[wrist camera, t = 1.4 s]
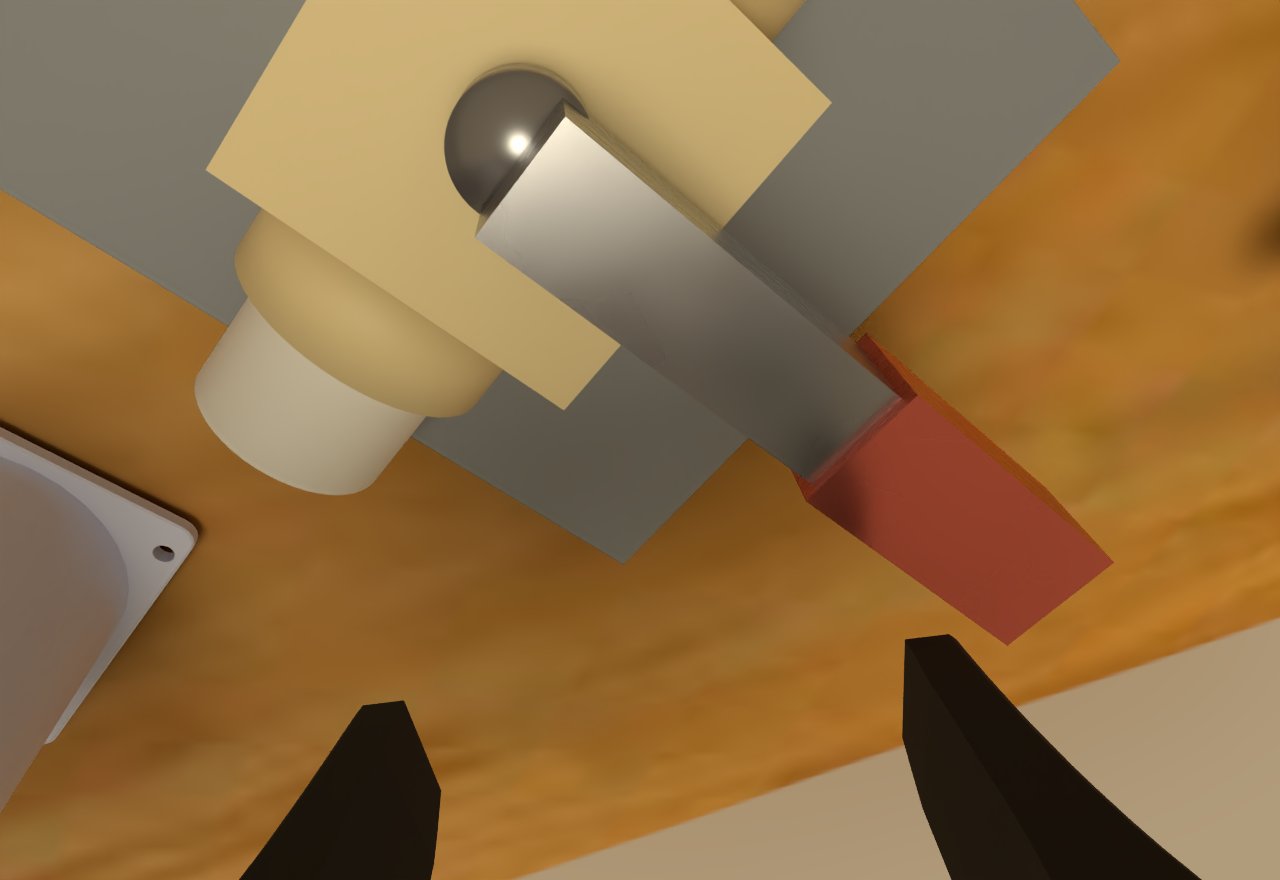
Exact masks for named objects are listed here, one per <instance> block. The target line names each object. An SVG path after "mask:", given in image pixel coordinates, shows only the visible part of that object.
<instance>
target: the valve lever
mask: <svg viewBox="0 0 1280 880" xmlns="http://www.w3.org/2000/svg"><path fill="white" fill-rule="evenodd" d="M444 154H445V162H446V166H447V169H448V173H449V175H450V178H451V180H452V182H453V184H454V186H455V188H456V190H457V191H458V193H459V194H460V195H461V197H462V198H463V199H464V200H465V201H466V203H467V204H468V205H469V206H470V207H471V208H473V209H474V210H475V211H476V212H477V213H479V214H480V216H479V221H478V225H477V229H476V233H475V237H474V238H476V239H477V240H478V241H480V242H481V243H482V244H484V245H485V246H487V247H488V248H489V249H491V250H492V251H493V252H495V253H496V254H497V255H499V256H500V257H502V258H503V259H504V260H506V261H507V262H508V263H510V264H511V265H513V266H514V267H515V268H517V269H518V270H519V271H521V272H522V273H523V274H525V275H526V276H528V277H529V278H530V279H532V280H533V281H534V282H536V283H537V284H538V285H540V286H541V287H543V288H544V289H545V290H547V291H548V292H549V293H551V294H552V295H554V296H555V297H556V298H558V299H559V300H560V301H562V302H563V303H564V304H566V305H567V306H569V307H570V308H571V309H573V310H574V311H575V312H577V313H578V314H579V315H581V316H582V317H584V318H585V319H586V320H588V321H589V322H590V323H592V324H593V325H595V326H596V327H597V328H599V329H600V330H601V331H603V332H604V333H605V334H607V335H608V336H610V337H611V338H612V339H614V340H615V341H616V342H618V343H619V344H620V345H622V346H623V347H625V348H626V349H627V350H629V351H630V352H631V353H633V354H634V355H636V356H637V357H638V358H640V359H641V360H642V361H644V362H645V363H646V364H648V365H649V366H651V367H652V368H653V369H655V370H656V371H657V372H659V373H660V374H661V375H663V376H664V377H666V378H667V379H668V380H670V381H671V382H672V383H674V384H675V385H677V386H678V387H679V388H681V389H682V390H683V391H685V392H686V393H687V394H689V395H690V396H692V397H693V398H694V399H696V400H697V401H698V402H700V403H701V404H702V405H704V406H705V407H707V408H708V409H709V410H711V411H712V412H713V413H715V414H716V415H718V416H719V417H720V418H722V419H723V420H724V421H726V422H727V423H728V424H730V425H731V426H733V427H734V428H735V429H737V430H738V431H739V432H741V433H742V434H743V435H745V436H746V437H748V438H749V439H750V440H752V441H753V442H754V443H756V444H757V445H759V446H760V447H761V448H763V449H764V450H765V451H767V452H768V453H769V454H771V455H772V456H774V457H775V458H776V459H778V460H779V461H780V462H782V463H783V464H784V465H786V466H787V467H789V468H790V469H791V470H792V472H793V474H794V477H795V479H796V481H797V483H798V485H799V487H800V489H801V492H802V494H803V496H804V498H805V500H806V502H808V503H809V504H811V505H812V506H813V507H815V508H816V509H818V510H819V511H820V512H822V513H823V514H825V515H826V516H827V517H829V518H830V519H832V520H833V521H834V522H836V523H837V524H839V525H840V526H841V527H843V528H844V529H845V530H847V531H848V532H850V533H851V534H852V535H854V536H855V537H857V538H858V539H859V540H861V541H862V542H864V543H865V544H866V545H868V546H869V547H871V548H872V549H873V550H875V551H876V552H878V553H879V554H880V555H882V556H883V557H884V558H886V559H887V560H889V561H890V562H891V563H893V564H894V565H896V566H897V567H898V568H900V569H901V570H903V571H904V572H905V573H907V574H908V575H910V576H911V577H912V578H914V579H915V580H917V581H918V582H919V583H921V584H922V585H924V586H925V587H926V588H928V589H929V590H930V591H932V592H933V593H935V594H936V595H937V596H939V597H940V598H942V599H943V600H944V601H946V602H947V603H949V604H950V605H951V606H953V607H954V608H956V609H957V610H958V611H960V612H961V613H963V614H964V615H965V616H967V617H968V618H969V619H971V620H972V621H974V622H975V623H976V624H978V625H979V626H981V627H982V628H983V629H985V630H986V631H988V632H989V633H990V634H992V635H993V636H995V637H996V638H997V639H999V640H1000V641H1002V642H1003V643H1004V644H1006V645H1007V646H1008V645H1009V644H1010V643H1011V642H1013V641H1014V640H1015V639H1017V638H1018V637H1019V636H1020V635H1022V634H1023V633H1024V632H1025V631H1027V630H1028V629H1029V628H1031V627H1032V626H1033V625H1034V624H1036V623H1037V622H1038V621H1040V620H1041V619H1042V618H1043V617H1045V616H1046V615H1047V614H1049V613H1050V612H1051V611H1052V610H1054V609H1055V608H1056V607H1058V606H1059V605H1060V604H1061V603H1063V602H1064V601H1065V600H1067V599H1068V598H1069V597H1070V596H1072V595H1073V594H1074V593H1076V592H1077V591H1078V590H1079V589H1081V588H1082V587H1083V586H1084V585H1086V584H1087V583H1088V582H1090V581H1091V580H1092V579H1093V578H1095V577H1096V576H1097V575H1099V574H1100V573H1101V572H1102V571H1104V570H1105V569H1106V568H1108V567H1109V566H1110V565H1111V564H1113V563H1114V562H1113V561H1112V560H1111V559H1110V557H1109V556H1108V555H1107V554H1106V553H1105V552H1104V551H1103V550H1102V549H1101V548H1100V547H1099V545H1098V544H1097V543H1096V542H1095V541H1094V540H1093V539H1092V538H1091V537H1090V536H1089V535H1088V533H1087V532H1086V531H1085V530H1084V529H1083V528H1082V527H1081V526H1080V525H1079V524H1078V523H1077V521H1076V520H1075V519H1074V518H1073V517H1072V516H1071V515H1070V514H1069V513H1068V512H1067V511H1066V509H1065V508H1064V507H1063V506H1062V505H1061V504H1060V503H1059V502H1058V501H1057V500H1056V499H1055V498H1054V496H1053V495H1052V494H1051V493H1050V492H1049V491H1048V490H1047V489H1046V488H1045V487H1044V486H1043V485H1042V484H1041V483H1039V482H1038V481H1037V480H1036V479H1035V478H1034V477H1033V476H1031V475H1030V474H1029V473H1028V472H1027V471H1026V470H1024V469H1023V468H1022V467H1021V466H1020V465H1019V464H1018V463H1016V462H1015V461H1014V460H1013V459H1012V458H1011V457H1009V456H1008V455H1007V454H1006V453H1005V452H1004V451H1002V450H1001V449H1000V448H999V447H998V446H997V445H996V444H994V443H993V442H992V441H991V440H990V439H989V438H987V437H986V436H985V435H984V434H983V433H982V432H980V431H979V430H978V429H977V428H976V427H975V426H974V425H972V424H971V423H970V422H969V421H968V420H967V419H965V418H964V417H963V416H962V415H961V414H960V413H958V412H957V411H956V410H955V409H954V408H953V407H952V406H950V405H949V404H948V403H947V402H946V401H945V400H943V399H942V398H941V397H940V396H939V395H938V394H936V393H935V392H934V391H933V390H932V389H931V388H930V387H928V386H927V385H926V384H925V383H924V382H923V381H921V380H920V379H919V378H918V377H917V376H916V375H914V374H913V373H912V372H911V371H910V370H909V369H908V368H906V367H905V366H904V365H903V364H902V363H901V362H899V361H898V360H897V359H896V358H895V357H894V356H893V355H891V354H890V353H889V352H888V351H887V350H886V349H884V348H883V347H882V346H881V345H880V344H879V343H877V342H876V341H875V340H874V339H873V338H872V337H871V336H869V335H868V334H867V333H866V334H865V335H864V336H863V337H862V338H861V339H860V340H859V341H858V342H857V343H856V342H855V341H854V340H852V339H851V338H850V337H849V336H848V335H847V334H845V333H844V332H843V331H842V330H841V329H840V328H838V327H837V326H836V325H835V324H834V323H832V322H831V321H830V320H829V319H828V318H827V317H825V316H824V315H823V314H822V313H821V312H820V311H818V310H817V309H816V308H815V307H814V306H813V305H811V304H810V303H809V302H808V301H807V300H805V299H804V298H803V297H802V296H801V295H800V294H798V293H797V292H796V291H795V290H794V289H793V288H791V287H790V286H789V285H788V284H787V283H786V282H784V281H783V280H782V279H781V278H780V277H778V276H777V275H776V274H775V273H774V272H773V271H771V270H770V269H769V268H768V267H767V266H766V265H764V264H763V263H762V262H761V261H760V260H758V259H757V258H756V257H755V256H754V255H753V254H751V253H750V252H749V251H748V250H747V249H746V248H744V247H743V246H742V245H741V244H740V243H739V242H737V241H736V240H735V239H734V238H733V237H731V236H730V235H729V234H728V233H727V232H726V231H724V230H723V229H722V228H721V227H720V226H719V225H717V224H716V223H715V222H714V221H713V220H711V219H710V218H709V217H708V216H707V215H706V214H704V213H703V212H702V211H701V210H700V209H699V208H697V207H696V206H695V205H694V204H693V203H692V202H690V201H689V200H688V199H687V198H686V197H684V196H683V195H682V194H681V193H680V192H679V191H677V190H676V189H675V188H674V187H673V186H672V185H670V184H669V183H668V182H667V181H666V180H665V179H663V178H662V177H661V176H660V175H659V174H657V173H656V172H655V171H654V170H653V169H652V168H650V167H649V166H648V165H647V164H646V163H645V162H643V161H642V160H641V159H640V158H639V157H637V156H636V155H635V154H634V153H633V152H632V151H630V150H629V149H628V148H627V147H626V146H625V145H623V144H622V143H621V142H620V141H619V140H618V139H616V138H615V137H614V136H613V135H612V134H610V133H609V132H608V131H607V130H606V129H605V128H603V127H602V126H601V125H600V124H599V123H598V122H596V121H595V120H594V119H593V118H592V117H591V116H589V113H588V111H587V108H586V106H585V104H584V102H583V101H582V99H581V97H580V96H579V94H578V93H577V92H576V91H575V89H574V88H573V87H572V86H571V85H570V84H569V83H568V82H567V81H565V80H564V79H563V78H562V77H560V76H559V75H557V74H555V73H554V72H552V71H550V70H548V69H545V68H543V67H540V66H536V65H532V64H525V63H511V64H505V65H501V66H497V67H494V68H492V69H490V70H488V71H486V72H484V73H483V74H481V75H480V76H478V77H477V78H476V79H474V80H473V81H472V82H471V83H470V84H469V85H468V87H467V88H466V89H465V90H464V92H463V93H462V95H461V96H460V98H459V100H458V102H457V103H456V105H455V107H454V109H453V111H452V113H451V115H450V118H449V120H448V123H447V127H446V131H445V138H444Z"/></svg>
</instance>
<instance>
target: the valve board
mask: <svg viewBox="0 0 1280 880" xmlns="http://www.w3.org/2000/svg"><path fill="white" fill-rule="evenodd" d="M1119 62H1120V59H1119V58H1118V57H1117V56H1116V54H1115V53H1114V52H1113V51H1112V49H1111V48H1110V47H1109V45H1108V44H1107V43H1106V42H1105V40H1104V39H1103V38H1102V36H1101V35H1100V34H1099V33H1098V31H1097V30H1096V29H1095V28H1094V26H1093V25H1092V24H1091V22H1090V21H1089V20H1088V19H1087V17H1086V16H1085V15H1084V14H1083V12H1082V11H1081V10H1080V8H1079V7H1078V6H1077V5H1076V3H1075V2H1074V1H1073V0H0V189H1V190H3V191H4V192H6V193H8V194H9V195H11V196H13V197H14V198H16V199H18V200H19V201H21V202H23V203H24V204H26V205H27V206H29V207H31V208H32V209H34V210H36V211H37V212H39V213H41V214H42V215H44V216H46V217H47V218H49V219H51V220H52V221H54V222H56V223H57V224H59V225H61V226H62V227H64V228H66V229H67V230H69V231H71V232H72V233H74V234H76V235H77V236H79V237H81V238H82V239H84V240H86V241H87V242H89V243H91V244H92V245H94V246H96V247H97V248H99V249H100V250H102V251H104V252H105V253H107V254H109V255H110V256H112V257H114V258H115V259H117V260H119V261H120V262H122V263H124V264H125V265H127V266H129V267H130V268H132V269H134V270H135V271H137V272H139V273H140V274H142V275H144V276H145V277H147V278H149V279H150V280H152V281H154V282H155V283H157V284H159V285H160V286H162V287H164V288H165V289H167V290H169V291H170V292H172V293H174V294H175V295H177V296H178V297H180V298H182V299H183V300H185V301H187V302H188V303H190V304H192V305H193V306H195V307H197V308H198V309H200V310H202V311H203V312H205V313H207V314H208V315H210V316H212V317H213V318H215V319H217V320H218V321H220V322H222V323H223V324H225V325H227V326H228V328H227V330H226V331H225V333H224V334H223V336H222V337H221V339H220V340H219V342H218V343H217V345H216V346H215V348H214V350H213V351H212V353H211V354H210V356H209V357H208V359H207V360H206V362H205V363H204V365H203V366H202V368H201V369H200V371H199V373H198V374H197V377H196V380H195V390H194V391H195V397H196V401H197V404H198V407H199V410H200V411H201V413H202V415H203V417H204V419H205V421H206V422H207V423H208V425H209V426H210V428H211V429H212V430H213V432H214V433H215V434H216V435H217V436H218V437H219V439H220V440H221V441H222V442H223V443H224V444H225V445H226V446H227V447H229V448H230V449H231V450H232V451H233V452H234V453H235V454H237V455H238V456H239V457H240V458H242V459H243V460H244V461H246V462H247V463H249V464H250V465H252V466H253V467H254V468H256V469H258V470H260V471H261V472H263V473H265V474H266V475H268V476H270V477H272V478H274V479H276V480H278V481H280V482H283V483H285V484H288V485H290V486H293V487H296V488H299V489H302V490H305V491H309V492H314V493H319V494H326V495H347V494H353V493H357V492H360V491H362V490H364V489H366V488H368V487H369V486H370V485H372V484H373V483H374V481H375V480H376V479H377V478H378V476H379V475H380V474H381V473H382V471H383V470H384V469H385V468H386V466H387V465H388V464H389V463H390V461H391V460H392V459H393V458H394V456H395V455H396V454H397V453H398V451H399V450H400V449H401V448H402V446H403V445H404V444H405V443H406V441H407V440H408V439H409V438H410V436H411V437H412V438H414V439H416V440H417V441H419V442H421V443H422V444H424V445H426V446H427V447H429V448H431V449H432V450H434V451H436V452H437V453H439V454H441V455H442V456H444V457H446V458H447V459H449V460H451V461H452V462H454V463H456V464H457V465H459V466H461V467H462V468H464V469H466V470H467V471H469V472H471V473H472V474H474V475H475V476H477V477H479V478H480V479H482V480H484V481H485V482H487V483H489V484H490V485H492V486H494V487H495V488H497V489H499V490H500V491H502V492H504V493H505V494H507V495H509V496H510V497H512V498H514V499H515V500H517V501H519V502H520V503H522V504H524V505H525V506H527V507H529V508H530V509H532V510H534V511H535V512H537V513H539V514H540V515H542V516H544V517H545V518H547V519H548V520H550V521H552V522H553V523H555V524H557V525H558V526H560V527H562V528H563V529H565V530H567V531H568V532H570V533H572V534H573V535H575V536H577V537H578V538H580V539H582V540H583V541H585V542H587V543H588V544H590V545H592V546H593V547H595V548H597V549H598V550H600V551H602V552H603V553H605V554H607V555H608V556H610V557H612V558H613V559H615V560H617V561H618V562H620V563H622V564H624V563H625V562H626V561H627V560H628V559H629V558H630V557H631V556H632V555H633V554H634V553H635V552H636V551H637V550H638V549H639V548H640V547H641V546H642V545H643V544H644V543H645V542H646V541H647V540H648V539H649V538H650V537H651V536H652V535H653V534H654V533H655V532H656V531H657V530H658V529H659V528H660V527H661V526H662V525H663V524H664V523H665V522H666V521H667V520H668V519H669V518H670V517H671V516H672V515H673V514H674V513H675V512H676V511H677V510H678V509H679V508H680V507H681V506H682V505H683V504H684V503H685V502H686V501H687V500H688V499H689V498H690V497H691V496H692V495H693V494H694V492H695V491H696V490H697V489H698V488H699V487H700V486H701V485H702V484H703V483H704V482H705V481H706V480H707V479H708V478H709V477H710V476H711V475H712V474H713V473H714V472H715V471H716V470H717V469H718V468H719V467H720V466H721V465H722V464H723V463H724V462H725V461H726V460H727V459H728V458H729V457H730V456H731V455H732V454H733V453H734V452H735V451H736V450H737V449H738V448H739V447H740V446H741V445H742V444H743V443H744V442H745V441H746V440H747V439H748V437H746V436H745V435H743V434H742V433H741V432H739V431H738V430H737V429H735V428H734V427H733V426H731V425H730V424H728V423H727V422H726V421H724V420H723V419H722V418H720V417H719V416H718V415H716V414H715V413H713V412H712V411H711V410H709V409H708V408H707V407H705V406H704V405H702V404H701V403H700V402H698V401H697V400H696V399H694V398H693V397H692V396H690V395H689V394H687V393H686V392H685V391H683V390H682V389H681V388H679V387H678V386H677V385H675V384H674V383H672V382H671V381H670V380H668V379H667V378H666V377H664V376H663V375H661V374H660V373H659V372H657V371H656V370H655V369H653V368H652V367H651V366H649V365H648V364H646V363H645V362H644V361H642V360H641V359H640V358H638V357H637V356H636V355H634V354H633V353H631V352H630V351H629V350H627V349H626V348H625V347H623V346H622V345H620V344H619V343H618V342H616V341H615V340H614V339H612V338H611V337H610V336H608V335H607V334H605V333H604V332H603V331H601V330H600V329H599V328H597V327H596V326H595V325H593V324H592V323H590V322H589V321H588V320H586V319H585V318H584V317H582V316H581V315H579V314H578V313H577V312H575V311H574V310H573V309H571V308H570V307H569V306H567V305H566V304H564V303H563V302H562V301H560V300H559V299H558V298H556V297H555V296H554V295H552V294H551V293H549V292H548V291H547V290H545V289H544V288H543V287H541V286H540V285H538V284H537V283H536V282H534V281H533V280H532V279H530V278H529V277H528V276H526V275H525V274H523V273H522V272H521V271H519V270H518V269H517V268H515V267H514V266H513V265H511V264H510V263H508V262H507V261H506V260H504V259H503V258H502V257H500V256H499V255H497V254H496V253H495V252H493V251H492V250H491V249H489V248H488V247H487V246H485V245H484V244H482V243H481V242H480V241H478V240H477V239H476V238H474V237H475V233H476V229H477V225H478V221H479V216H480V214H479V213H477V212H476V211H475V210H474V209H473V208H471V207H470V206H469V205H468V204H467V203H466V201H465V200H464V199H463V198H462V197H461V195H460V194H459V193H458V191H457V190H456V188H455V186H454V184H453V182H452V180H451V178H450V175H449V173H448V169H447V166H446V162H445V154H444V138H445V131H446V127H447V123H448V120H449V118H450V115H451V113H452V111H453V109H454V107H455V105H456V103H457V102H458V100H459V98H460V96H461V95H462V93H463V92H464V90H465V89H466V88H467V87H468V85H469V84H470V83H471V82H472V81H473V80H474V79H476V78H477V77H478V76H480V75H481V74H483V73H484V72H486V71H488V70H490V69H492V68H494V67H497V66H501V65H505V64H511V63H525V64H532V65H536V66H540V67H543V68H545V69H548V70H550V71H552V72H554V73H555V74H557V75H559V76H560V77H562V78H563V79H564V80H565V81H567V82H568V83H569V84H570V85H571V86H572V87H573V88H574V89H575V91H576V92H577V93H578V94H579V96H580V97H581V99H582V101H583V102H584V104H585V106H586V108H587V111H588V113H589V116H591V117H592V118H593V119H594V120H595V121H596V122H598V123H599V124H600V125H601V126H602V127H603V128H605V129H606V130H607V131H608V132H609V133H610V134H612V135H613V136H614V137H615V138H616V139H618V140H619V141H620V142H621V143H622V144H623V145H625V146H626V147H627V148H628V149H629V150H630V151H632V152H633V153H634V154H635V155H636V156H637V157H639V158H640V159H641V160H642V161H643V162H645V163H646V164H647V165H648V166H649V167H650V168H652V169H653V170H654V171H655V172H656V173H657V174H659V175H660V176H661V177H662V178H663V179H665V180H666V181H667V182H668V183H669V184H670V185H672V186H673V187H674V188H675V189H676V190H677V191H679V192H680V193H681V194H682V195H683V196H684V197H686V198H687V199H688V200H689V201H690V202H692V203H693V204H694V205H695V206H696V207H697V208H699V209H700V210H701V211H702V212H703V213H704V214H706V215H707V216H708V217H709V218H710V219H711V220H713V221H714V222H715V223H716V224H717V225H719V226H720V227H721V228H722V229H723V230H724V231H726V232H727V233H728V234H729V235H730V236H731V237H733V238H734V239H735V240H736V241H737V242H739V243H740V244H741V245H742V246H743V247H744V248H746V249H747V250H748V251H749V252H750V253H751V254H753V255H754V256H755V257H756V258H757V259H758V260H760V261H761V262H762V263H763V264H764V265H766V266H767V267H768V268H769V269H770V270H771V271H773V272H774V273H775V274H776V275H777V276H778V277H780V278H781V279H782V280H783V281H784V282H786V283H787V284H788V285H789V286H790V287H791V288H793V289H794V290H795V291H796V292H797V293H798V294H800V295H801V296H802V297H803V298H804V299H805V300H807V301H808V302H809V303H810V304H811V305H813V306H814V307H815V308H816V309H817V310H818V311H820V312H821V313H822V314H823V315H824V316H825V317H827V318H828V319H829V320H830V321H831V322H832V323H834V324H835V325H836V326H837V327H838V328H840V329H841V330H842V331H843V332H844V333H845V334H847V335H848V336H850V335H851V334H852V333H853V332H854V330H855V329H856V328H857V327H858V326H859V325H860V324H861V323H862V322H863V321H864V320H865V319H866V318H867V317H868V316H869V315H870V314H871V313H872V312H873V311H874V310H875V309H876V308H877V307H878V306H879V305H880V304H881V303H882V302H883V301H884V300H885V299H886V298H887V297H888V296H889V295H890V294H891V293H892V292H893V291H894V290H895V289H896V288H897V287H898V286H899V285H900V284H901V283H902V282H903V281H904V280H905V279H906V278H907V277H908V276H909V275H910V274H911V273H912V272H913V271H914V270H915V269H916V268H917V267H918V266H919V265H920V264H921V263H922V262H923V261H924V260H925V259H926V258H927V257H928V256H929V255H930V254H931V253H932V252H933V250H934V249H935V248H936V247H937V246H938V245H939V244H940V243H941V242H942V241H943V240H944V239H945V238H946V237H947V236H948V235H949V234H950V233H951V232H952V231H953V230H954V229H955V228H956V227H957V226H958V225H959V224H960V223H961V222H962V221H963V220H964V219H965V218H966V217H967V216H968V215H969V214H970V213H971V212H972V211H973V210H974V209H975V208H976V207H977V206H978V205H979V204H980V203H981V202H982V201H983V200H984V199H985V198H986V197H987V196H988V195H989V194H990V193H991V192H992V191H993V190H994V189H995V188H996V187H997V186H998V185H999V184H1000V183H1001V182H1002V181H1003V180H1004V179H1005V178H1006V177H1007V176H1008V175H1009V174H1010V173H1011V172H1012V171H1013V169H1014V168H1015V167H1016V166H1017V165H1018V164H1019V163H1020V162H1021V161H1022V160H1023V159H1024V158H1025V157H1026V156H1027V155H1028V154H1029V153H1030V152H1031V151H1032V150H1033V149H1034V148H1035V147H1036V146H1037V145H1038V144H1039V143H1040V142H1041V141H1042V140H1043V139H1044V138H1045V137H1046V136H1047V135H1048V134H1049V133H1050V132H1051V131H1052V130H1053V129H1054V128H1055V127H1056V126H1057V125H1058V124H1059V123H1060V122H1061V121H1062V120H1063V119H1064V118H1065V117H1066V116H1067V115H1068V114H1069V113H1070V112H1071V111H1072V110H1073V109H1074V108H1075V107H1076V106H1077V105H1078V104H1079V103H1080V102H1081V101H1082V100H1083V99H1084V98H1085V97H1086V96H1087V95H1088V94H1089V93H1090V92H1091V91H1092V90H1093V88H1094V87H1095V86H1096V85H1097V84H1098V83H1099V82H1100V81H1101V80H1102V79H1103V78H1104V77H1105V76H1106V75H1107V74H1108V73H1109V72H1110V71H1111V70H1112V69H1113V68H1114V67H1115V66H1116V65H1117V64H1118V63H1119Z"/></svg>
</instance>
